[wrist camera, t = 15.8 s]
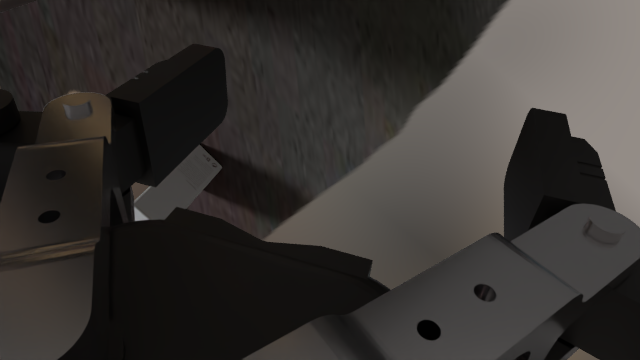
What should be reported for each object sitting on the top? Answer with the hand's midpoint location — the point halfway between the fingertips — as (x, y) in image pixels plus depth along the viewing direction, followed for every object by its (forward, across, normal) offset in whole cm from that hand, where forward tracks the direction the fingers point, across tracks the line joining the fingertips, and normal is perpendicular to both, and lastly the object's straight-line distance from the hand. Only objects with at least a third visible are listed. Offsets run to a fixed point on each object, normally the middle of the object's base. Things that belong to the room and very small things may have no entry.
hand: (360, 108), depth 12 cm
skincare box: (+28, +24, +27) cm, 46 cm away
